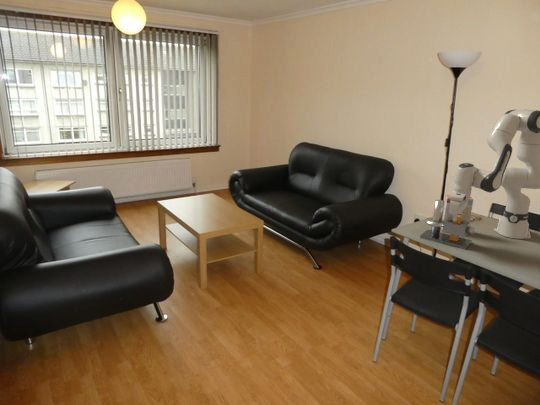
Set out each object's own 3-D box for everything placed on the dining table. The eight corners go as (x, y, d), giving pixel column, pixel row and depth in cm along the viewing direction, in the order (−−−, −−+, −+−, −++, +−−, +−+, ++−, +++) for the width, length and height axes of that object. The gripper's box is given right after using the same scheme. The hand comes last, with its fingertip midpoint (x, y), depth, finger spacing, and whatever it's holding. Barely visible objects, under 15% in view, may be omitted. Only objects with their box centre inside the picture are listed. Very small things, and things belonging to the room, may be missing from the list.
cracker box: (465, 230, 234) (471, 196, 228) (467, 233, 228) (474, 199, 222) (440, 227, 237) (445, 194, 231) (442, 231, 232) (447, 197, 225)
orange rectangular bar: (450, 237, 218) (454, 214, 213) (458, 239, 215) (462, 215, 211) (449, 239, 215) (453, 215, 211) (457, 241, 213) (460, 217, 209)
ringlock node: (427, 231, 230) (432, 196, 224) (473, 243, 215) (480, 205, 208) (420, 237, 221) (425, 201, 215) (467, 250, 206) (474, 211, 200)
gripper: (460, 189, 217) (456, 212, 221) (449, 196, 202) (445, 222, 206) (472, 191, 213) (468, 215, 217) (462, 199, 198) (457, 224, 202)
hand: (457, 218), depth 212 cm, fingers open, 7 cm apart
